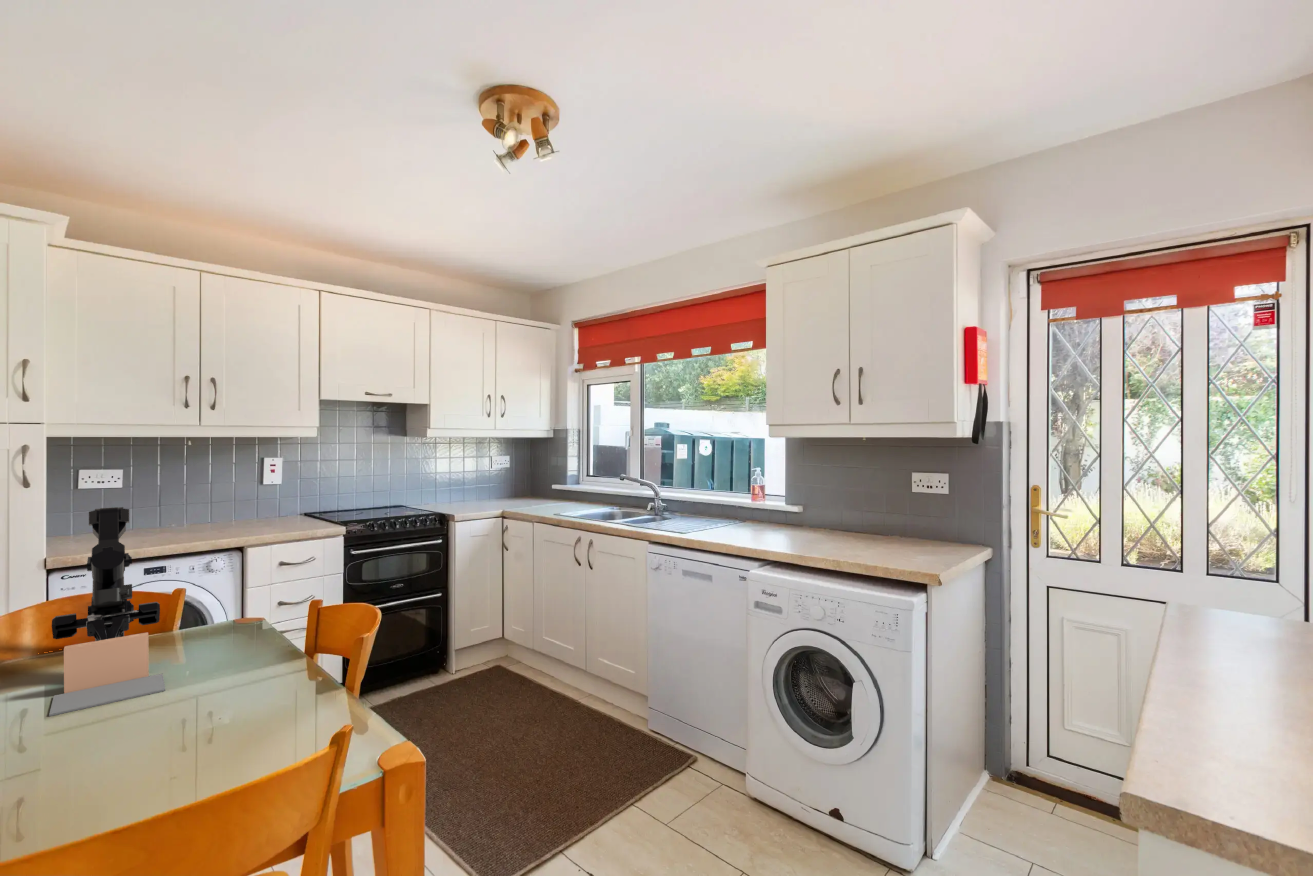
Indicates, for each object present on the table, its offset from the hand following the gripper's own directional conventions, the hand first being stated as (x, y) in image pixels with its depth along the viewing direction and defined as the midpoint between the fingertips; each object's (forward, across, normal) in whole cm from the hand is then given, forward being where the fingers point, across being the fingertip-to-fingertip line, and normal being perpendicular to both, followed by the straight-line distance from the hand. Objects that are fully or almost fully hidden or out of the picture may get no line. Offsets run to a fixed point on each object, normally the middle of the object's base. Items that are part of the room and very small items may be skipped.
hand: (108, 651), depth 138 cm
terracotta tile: (+7, 0, +3) cm, 7 cm away
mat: (+12, 0, -2) cm, 12 cm away
